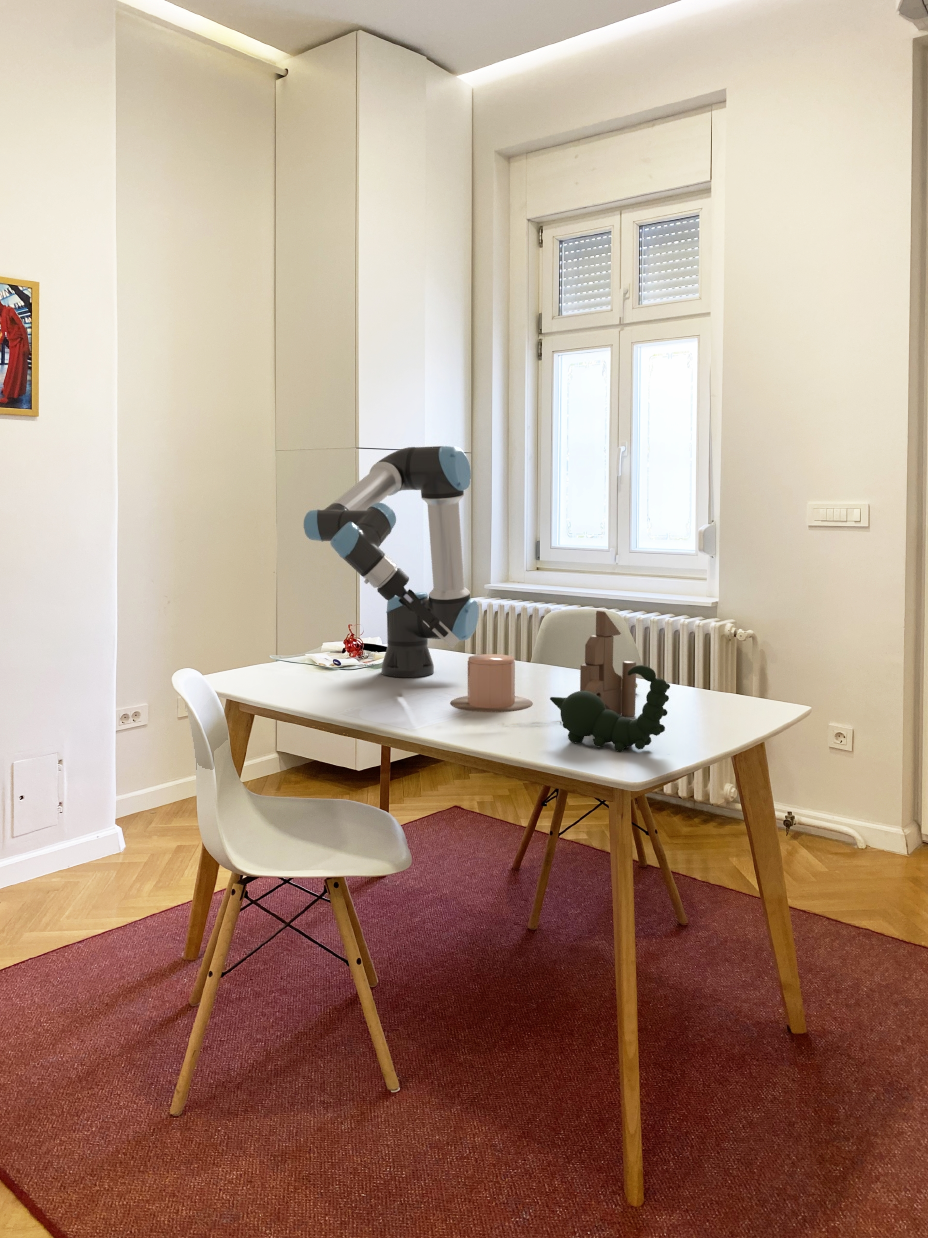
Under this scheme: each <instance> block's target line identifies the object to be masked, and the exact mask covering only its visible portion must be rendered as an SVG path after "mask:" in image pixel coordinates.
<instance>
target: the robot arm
mask: <svg viewBox="0 0 928 1238" xmlns="http://www.w3.org/2000/svg"><path fill="white" fill-rule="evenodd" d="M465 453H466V452H464V451H463V450H462V448H460V447H457V446H451V445H450V446H449V445H440V446H439V445H437V446H411V447H410V446H408V447H404V448H401V449H399V450H396V451H394V452H392V453H389V454H388V455H386V456H384V457H383V458H381V459H380V460H378V461H377V462H375V464H373V465H372V466H371V468H370V470H369V472H368V474H367V475H365V476H364V477H363V478H362V479H361V480H359V481H358V482H357V483H355V484H354V485H353V486H352V487H350V488H349V489H348V490H347V491H346V492H345V493H343V494H342V495H341V496H339V497H338V498H337V499H335V500H334V501H333V502H332V503H331V504H329V505H328V506H327V507H325V508H324V509H313V510H309V511H308V512H306V514H305V516H304V519H303V529H304V534H305V535H306V537H307V538H308V539H309V540H310V541H317V542H330V546H331V548H333V549H334V551H335V552H336V553H337V554H338V555H339V557H340V558H342V559H343V560H344V561H345V562H346V563H347V564H348V565H349V566H351V568H353V570H355V571H356V572H357V573H358V574H359V575H360V576H361V577H362V578H363V579H365V580H364V581H363V582H364V584H365V585H368V583H369V585H371V587H373V589H376V588H377V590H376V591H377V593H379V595H381V596H382V597H383V599H385V600H386V601H387V602H386V603H387V604H386V612H385V613H386V630H387V631H386V636H387V637H386V638H387V639H386V641H387V645H386V646H387V647H386V650H385V654H384V657H383V660H382V662H381V674H382V675H383V676H387V677H392V678H419V677H421V678H422V677H427V676H431V675H432V674H434V673H435V666H434V662H433V659H432V656H431V652H430V649H429V646H428V639H431V640H442V641H443V642H444V643H445V644H447V646H448V647H449V648H450V649H453V648H454V647H455V646H457V644H459V642H460V641H467V640H469V639H470V638H471V637H472V636H473V635H474V633H475V631H476V629H477V626H478V623H479V615H480V609H479V604H478V602H477V601H476V600H475V599H473V598H472V599H471V593H470V592H471V591H470V590H469V589H467V587H465V581H464V579H465V578H464V564H463V562H464V561H463V549H462V548H463V546H462V533H461V531H462V530H461V518H460V501H461V500H462V499H463V497H464V495H465V493H464V492H465V491H466V490H467V489H468V488H469V487H470V485H471V478H472V477H471V476H472V473H471V466H470V461H469V458H468V456H467V454H465ZM412 490H413V491H420V497H421V499H422V500H423V501H424V502H425V503H426V504H427V514H428V515H427V517H428V527H429V528H428V529H429V545H430V558H431V571H432V572H431V573H432V585H433V589H432V590H431V591H430V592H429V593H427V592H425V591H423V592H422V591H421V592H419V591H418V592H414V591H413V590H412V589H410V588H409V589H408V590H407V589H406V588H405V587H406V585H407V584H408V582H409V581H410V577H409V576H408V575H407V574H406V573H405V572H404V570H402V569H401V568H399V567H398V568H397V565H398V564H396V563H395V561H393V559H392V558H390V557H389V556H388V555H387V554H386V553H385V552H384V551H383V550H382V549H381V548H380V546H381V545H382V543H383V542H384V541H385V540H386V538H388V536H390V534H391V533H392V530H393V528H394V527H395V525H396V523H397V516H396V513H395V512H394V510H393V509H392V507H390V506H389V505H388V504H386V503H383V502H382V501H383V500H384V499H385V498H387V497H389V496H394V495H396V494H397V493H398V492H401V491H412Z"/></svg>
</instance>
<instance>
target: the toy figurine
mask: <svg viewBox="0 0 928 1238" xmlns="http://www.w3.org/2000/svg"><path fill="white" fill-rule="evenodd" d="M632 674H636V675H638V676H639V675H640V676H641V677H642V678H643V679H644V680H645V681H647V682H648V683H649V682H650V683H649V684H650V685H649V691H648V693H647V694H646V696H645V697H646V702H645V703H644V704H643V707H642V710H641V711H642V713H640V714H639V715H638V717H637V718H635V719H631V718H630V717H626V716H622V717H621V715H620V714H619V715H618V714H617V713H616V712H614V711H612V710H609V709H606V707H605V704H604V702H603V701H602V700H601V698H600V697H598V696H597V695H596V694H594V693H592V692H589V691H580V690H579V691H575V692H572V693H570V694H568V696H567V697H559V696H550V697H549V700H550V701H551V702H552V703H553V704H554V705H555V706H556V707H557V708H558V709H559V710H560V719H561V723H562V727H563V728H564V729H565V730H567V731H568V734H567V739H568V740H569V742H571V743H573V744H580V743H582V742H583V741H584V739H585V737H591V736H593V739H592V743H593V745H594V746H595V748H596V747H597V748H602V747H604V746H605V744H607V743H612V744H613V745H614V746H613V748H614V749H615V751H616V752H618V753H621V752H624V749H625V748H630V747H632V746H633V745H634V748H636V749H637V750H643V749H644V748H645V747H646V746H649V745H651V743H652V738H651V735H653V736H656V737H657V736H659V735H661V734H663V733H664V732H665V731H666V727H665V725H664V724H661V720H662V718H663V717H666V716H667V715H668V710H667V708H664V705H665V704H666V703H668V701H670V700H669V699H670V698H669V695H667V694H666V693H667V691H668V690H670V688H671V686H670V685H671V684H670V683H667V681H666V680H665V679H663V678H661V677H659V678H658V677H657V674H656V672H655V670H654V669H653V668H652V667H649V666H647V665H643V664H640V665H638V664H636V666H634V667H632V668H631V669H630V670H629V671H628V675H629V676H630V675H632Z"/></svg>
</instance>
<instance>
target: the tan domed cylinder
mask: <svg viewBox="0 0 928 1238" xmlns="http://www.w3.org/2000/svg"><path fill="white" fill-rule="evenodd" d="M515 673H516V661H515V657H514V656H512V655H508V654H497V653H496V654H495V653H489V654H488V653H486V654H485V653H484V654H482V653H481V654H475V655H474V654H473V655H471V656H468V660H467V696H468V703H469V705H471V706H475V707H482V708H503V707H508V706H512V705H513V704H514V703H515V696H516V694H515V693H516V687H515V686H516V683H515V681H516V680H515V679H516V674H515Z"/></svg>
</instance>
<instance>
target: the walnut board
mask: <svg viewBox="0 0 928 1238" xmlns="http://www.w3.org/2000/svg"><path fill="white" fill-rule="evenodd" d="M449 702H450V703H449V704H450V706H452V707H453V708H455V709H458V710H462V711H468V712H476V713H509V712H511V713H512V712H517V711H522V710H526V709H529V708H530V707H532V706H533V705H534V702H533V701H532V700H530V699H529V698H525V697H523V696H522V697H521V696H517V695H515V703H514V704H513V705H512V706H508V707H503V708H482V707H475V706H471V705H469V703H468V695H465V696H464V695H463V696H460V697H456V698H454V699H452V700H450V701H449Z"/></svg>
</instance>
